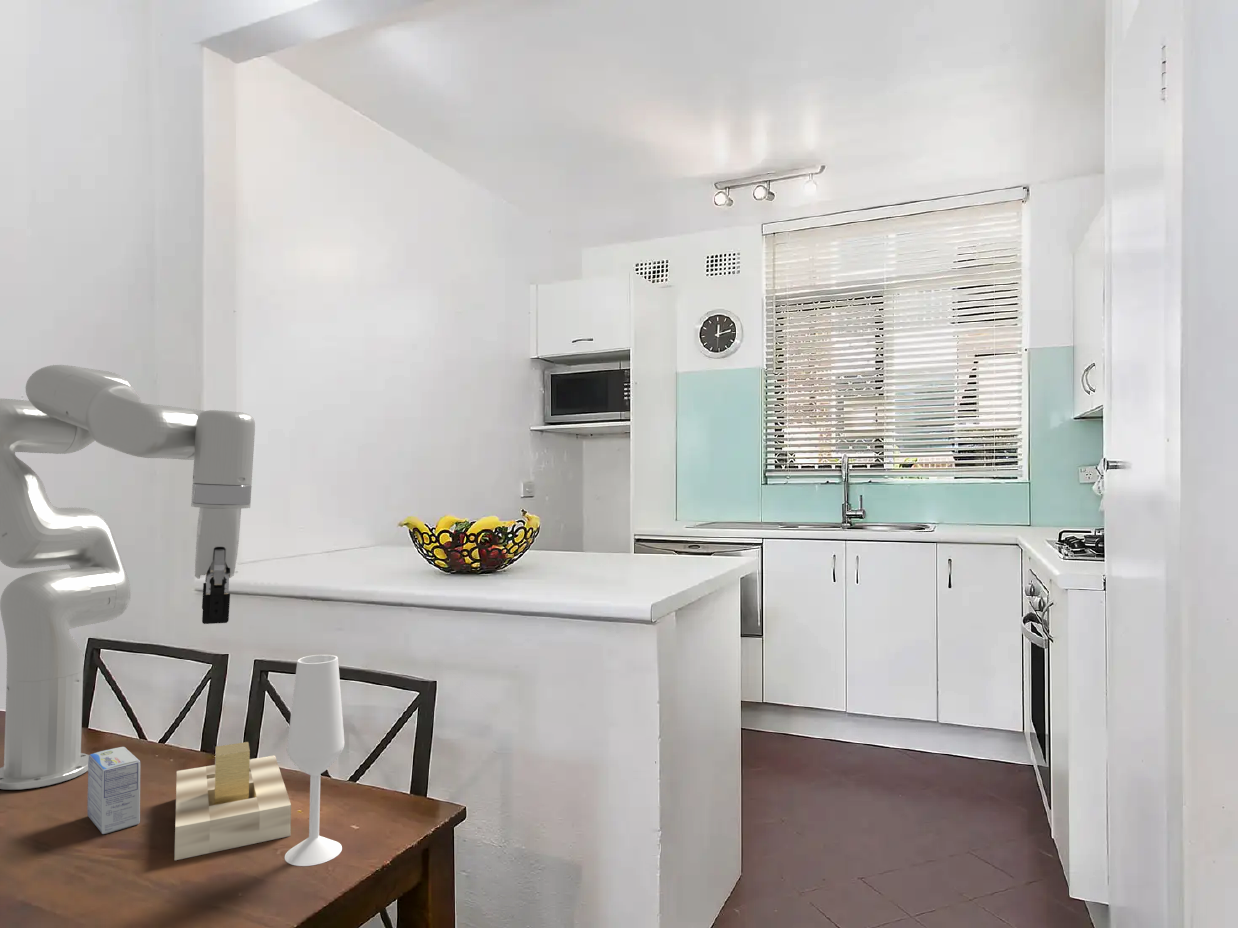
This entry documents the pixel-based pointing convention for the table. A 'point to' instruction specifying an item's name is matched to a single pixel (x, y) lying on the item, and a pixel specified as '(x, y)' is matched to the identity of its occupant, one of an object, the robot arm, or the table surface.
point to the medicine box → (113, 789)
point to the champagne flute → (315, 745)
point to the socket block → (230, 810)
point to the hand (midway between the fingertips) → (214, 615)
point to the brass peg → (231, 773)
